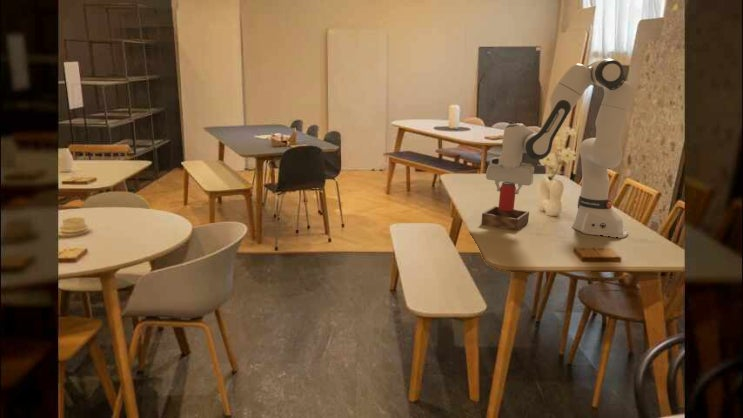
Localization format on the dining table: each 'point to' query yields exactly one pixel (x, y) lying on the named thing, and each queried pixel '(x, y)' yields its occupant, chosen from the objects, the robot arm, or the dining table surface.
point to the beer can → (507, 197)
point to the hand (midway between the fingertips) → (507, 192)
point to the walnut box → (505, 218)
